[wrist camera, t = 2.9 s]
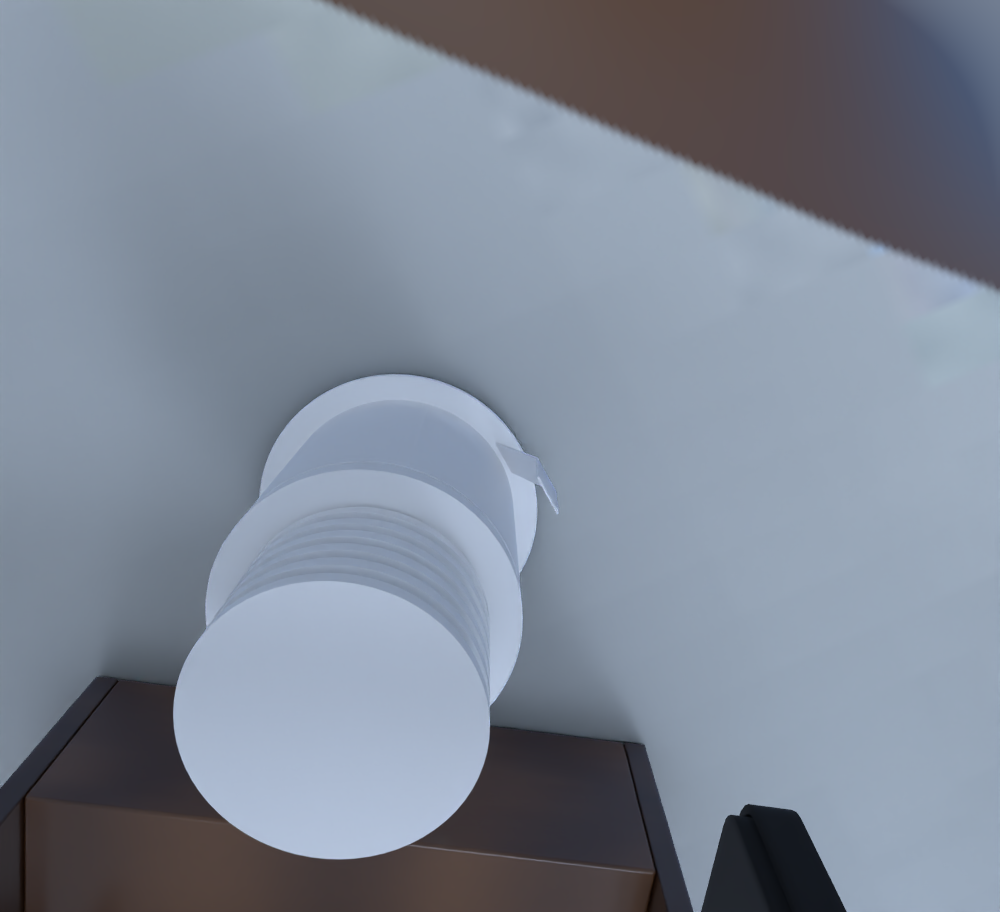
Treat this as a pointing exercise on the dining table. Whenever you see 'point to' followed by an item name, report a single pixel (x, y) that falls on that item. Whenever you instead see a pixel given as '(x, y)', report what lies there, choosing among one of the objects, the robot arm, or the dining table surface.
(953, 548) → the dining table surface
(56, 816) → the spice shelf
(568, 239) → the dining table surface
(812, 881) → the robot arm
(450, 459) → the downlight
